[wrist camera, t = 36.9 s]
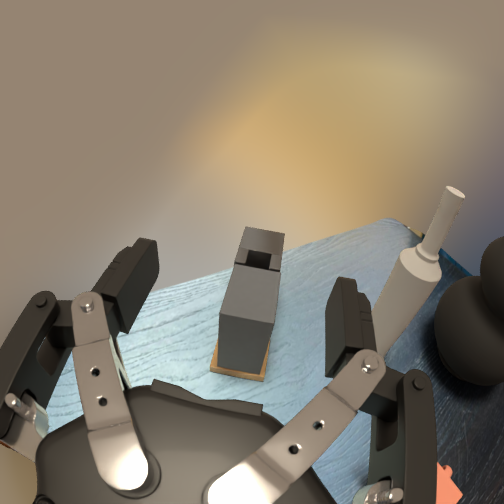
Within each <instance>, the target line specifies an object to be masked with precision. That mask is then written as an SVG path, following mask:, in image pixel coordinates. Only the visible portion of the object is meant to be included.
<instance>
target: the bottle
mask: <svg viewBox="0 0 504 504" xmlns="http://www.w3.org/2000/svg"><path fill="white" fill-rule="evenodd" d="M464 198H465V196H464V195H463V193H461V192H460V191H459V190H457V189H455V188H453V187H450V186H447V187H446V189H445V191H444V194H443V196H442V198H441V201H440V203H439V207H438V210H437V212H436V214H435V216H434V218H433V221H432V223H431V225H430V227H429V229H428V231H427V233H426V236H425V238H424V240H423V242H422V243H419V244H418V245H417V246H416V247H414V248H407V249H404V250H403V251H401V253H400V255H399V257H398V259H397V262H396V264H395V266H394V268H393V270H392V272H391V274H390V276H389V278H388V280H387V282H386V284H385V286H384V288H383V290H382V292H381V294H380V296H379V298H378V300H377V302H376V304H375V306H374V308H373V309H372V311H371V312H372V313H371V314H372V318H373V325H374V332H375V339H376V347H377V353H378V354H380V355H381V356H382V357H383V359H384V357H385V355H386V353H387V351H388V350H389V349H390V348H391V346H392V345H393V344H394V343H395V341H396V340H397V339H398V338H399V336H400V335H401V334H402V333H403V331H404V330H405V329H406V327H407V326H408V325H409V323H410V322H411V321H412V319H413V318H414V317H415V315H416V314H417V312H418V311H419V310H420V308H421V307H422V305H423V304H424V302H425V301H426V300H427V298H428V297H429V295H430V294H431V292H432V291H433V289H434V288H435V286H436V285H437V283H438V282H439V280H440V278H441V273H442V272H441V269H440V266H439V264H438V259H439V255H438V252H439V250H440V248H441V245H442V244H443V242H444V240H445V238H446V236H447V234H448V232H449V230H450V228H451V225H452V223H453V221H454V219H455V217H456V215H457V214H458V212H459V210H460V207H461V205H462V203H463V200H464Z"/></svg>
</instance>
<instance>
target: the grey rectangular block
mask: <svg viewBox="0 0 504 504" xmlns="http://www.w3.org/2000/svg"><path fill="white" fill-rule="evenodd" d="M280 277H281V273H280V272H275V271H269V270H264V269H259V268H254V267H248V266H243V265H238V264H235V265H234V268H233V271H232V274H231V278H230V281H229V284H228V287H227V290H226V294H225V297H224V300H223V303H222V306H221V310H220V313H219V334H218V357H217V366H218V367H223V368H227V369H232V370H237V371H242V372H247V373H252V374H258V375H260V372H261V368H262V365H263V362H264V358H265V355H266V351H267V348H268V344H269V341H270V337H271V334H272V330H273V326H274V322H275V315H276V308H277V300H278V293H279V285H280Z"/></svg>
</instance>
